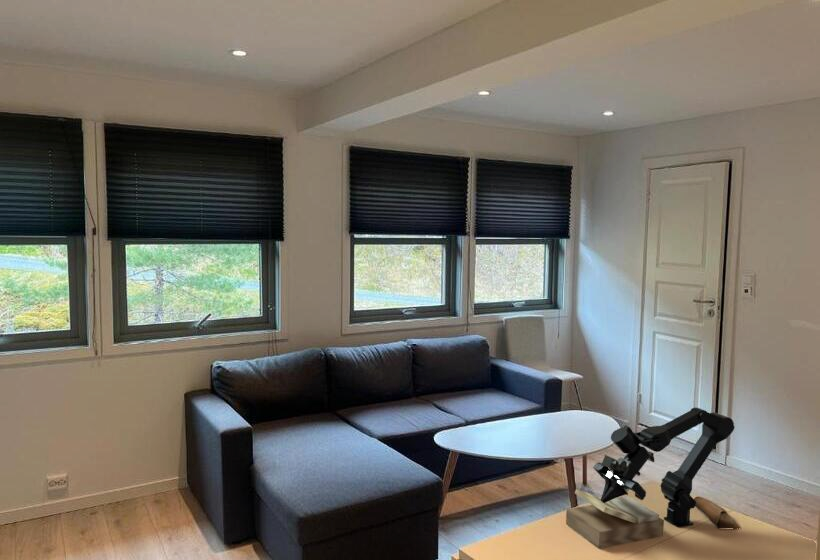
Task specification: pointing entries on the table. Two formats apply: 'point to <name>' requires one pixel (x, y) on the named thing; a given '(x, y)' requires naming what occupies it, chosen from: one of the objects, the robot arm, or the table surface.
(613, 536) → the floor base
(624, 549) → the table surface
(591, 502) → the pale yellow square slab
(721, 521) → the sunglasses case
